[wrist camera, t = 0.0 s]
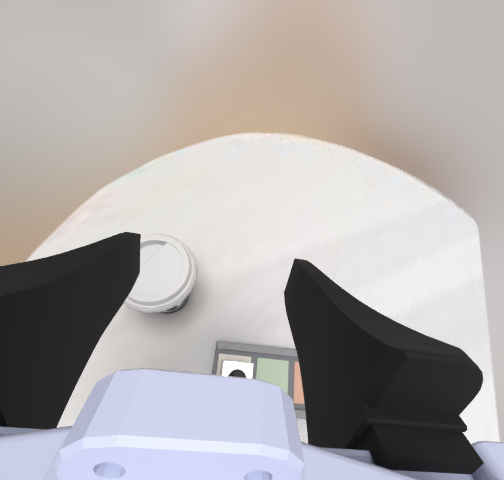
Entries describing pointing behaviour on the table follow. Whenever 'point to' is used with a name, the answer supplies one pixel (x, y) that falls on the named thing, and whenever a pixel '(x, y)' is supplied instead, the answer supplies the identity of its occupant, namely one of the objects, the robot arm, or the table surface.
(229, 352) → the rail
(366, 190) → the table surface
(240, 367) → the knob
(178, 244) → the coffee cup
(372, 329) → the robot arm
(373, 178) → the table surface
